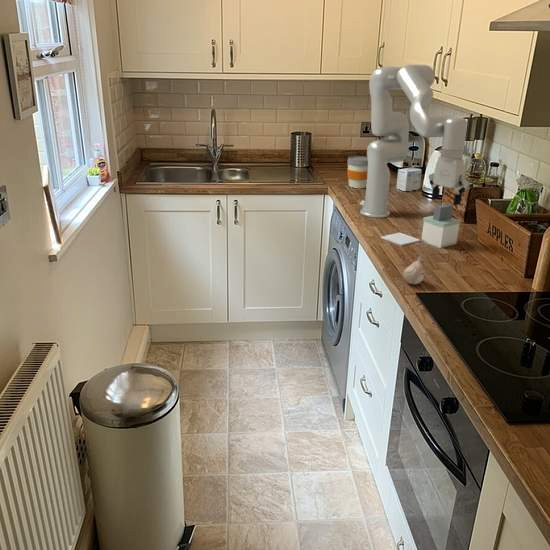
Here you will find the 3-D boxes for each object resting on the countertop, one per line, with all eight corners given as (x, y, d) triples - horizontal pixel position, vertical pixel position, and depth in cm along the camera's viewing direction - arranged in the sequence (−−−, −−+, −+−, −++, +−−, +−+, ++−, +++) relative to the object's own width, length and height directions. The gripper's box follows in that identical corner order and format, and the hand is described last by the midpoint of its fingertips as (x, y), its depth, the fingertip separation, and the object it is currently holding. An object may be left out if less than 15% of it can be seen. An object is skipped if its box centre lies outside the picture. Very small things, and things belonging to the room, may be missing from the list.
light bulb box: (410, 187, 292) (412, 167, 288) (419, 190, 287) (422, 169, 282) (395, 189, 286) (397, 168, 282) (405, 192, 281) (407, 171, 277)
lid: (422, 223, 207) (425, 204, 204) (439, 219, 212) (442, 201, 209) (443, 229, 200) (446, 210, 197) (459, 226, 205) (462, 207, 202)
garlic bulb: (427, 285, 170) (431, 261, 167) (409, 288, 168) (412, 263, 165) (415, 277, 176) (418, 253, 173) (397, 280, 174) (400, 256, 171)
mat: (380, 238, 212) (380, 236, 212) (399, 233, 218) (399, 232, 217) (401, 245, 204) (401, 244, 204) (420, 241, 210) (420, 239, 210)
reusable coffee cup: (343, 188, 285) (345, 159, 279) (348, 183, 296) (350, 155, 290) (367, 191, 281) (370, 161, 276) (371, 186, 292) (374, 157, 287)
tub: (421, 241, 210) (424, 220, 207) (437, 237, 214) (439, 217, 211) (440, 248, 203) (443, 227, 200) (456, 244, 208) (459, 223, 205)
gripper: (425, 151, 201) (420, 198, 207) (465, 158, 188) (458, 208, 194) (439, 150, 205) (433, 196, 211) (479, 156, 192) (472, 205, 198)
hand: (445, 201), depth 202 cm, fingers open, 9 cm apart
